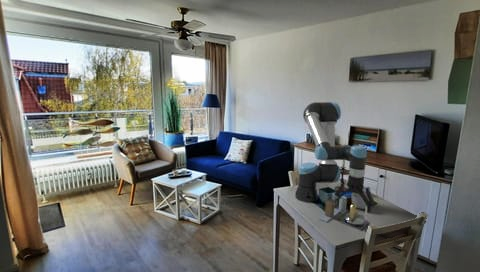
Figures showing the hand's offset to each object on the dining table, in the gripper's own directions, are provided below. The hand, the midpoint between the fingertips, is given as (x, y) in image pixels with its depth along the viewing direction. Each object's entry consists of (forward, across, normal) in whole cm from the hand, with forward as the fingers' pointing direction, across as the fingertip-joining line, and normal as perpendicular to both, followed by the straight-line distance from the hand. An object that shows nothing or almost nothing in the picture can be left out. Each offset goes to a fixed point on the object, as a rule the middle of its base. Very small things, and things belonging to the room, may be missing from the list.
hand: (352, 213), depth 135 cm
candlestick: (+7, -25, +44) cm, 51 cm away
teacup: (+7, -6, +27) cm, 29 cm away
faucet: (+6, 0, +4) cm, 7 cm away
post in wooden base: (+6, -13, +8) cm, 16 cm away
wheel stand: (+7, 0, +4) cm, 8 cm away
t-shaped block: (+7, -13, +4) cm, 16 cm away
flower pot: (+7, -22, +16) cm, 28 cm away
